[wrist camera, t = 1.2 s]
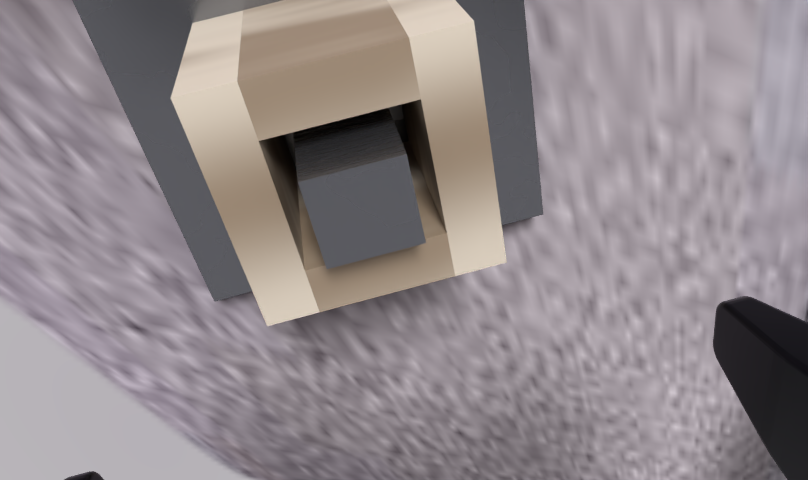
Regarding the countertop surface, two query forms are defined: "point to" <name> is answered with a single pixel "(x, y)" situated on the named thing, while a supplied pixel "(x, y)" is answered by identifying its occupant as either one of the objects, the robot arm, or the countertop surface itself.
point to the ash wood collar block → (328, 102)
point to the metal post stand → (313, 136)
